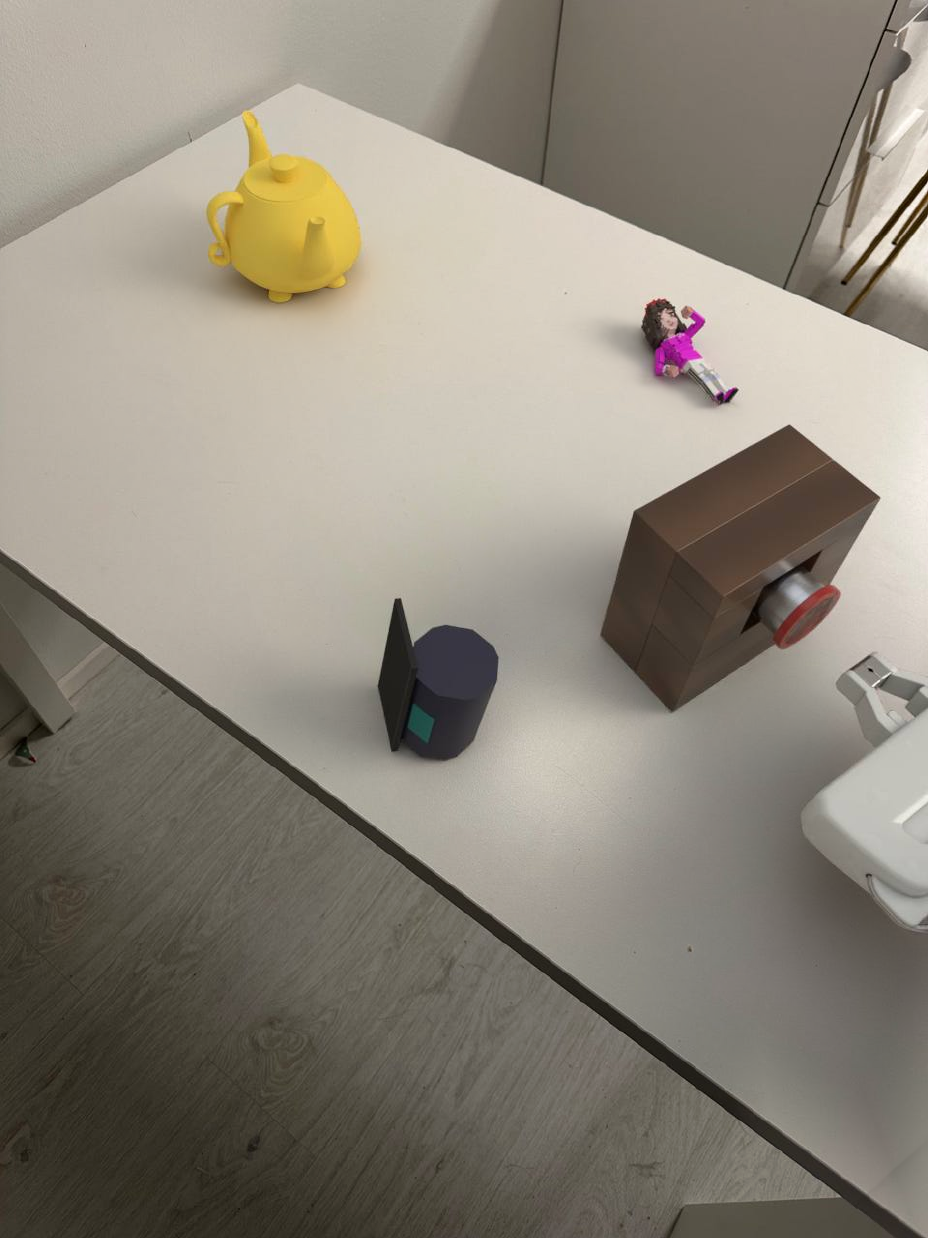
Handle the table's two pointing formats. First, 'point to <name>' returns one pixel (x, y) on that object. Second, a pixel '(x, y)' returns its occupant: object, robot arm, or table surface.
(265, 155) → the teapot
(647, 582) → the control box
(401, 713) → the speaker
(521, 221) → the table surface
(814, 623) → the knob
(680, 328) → the character figurine
